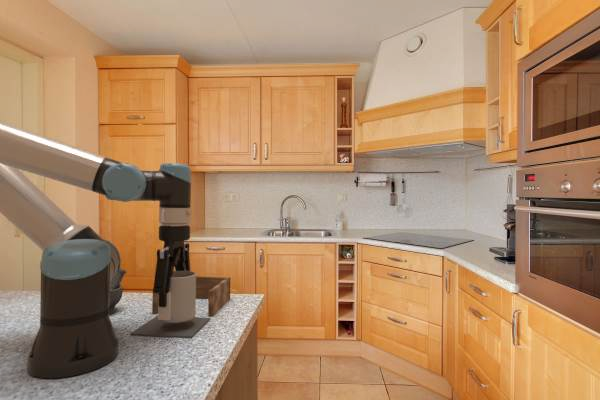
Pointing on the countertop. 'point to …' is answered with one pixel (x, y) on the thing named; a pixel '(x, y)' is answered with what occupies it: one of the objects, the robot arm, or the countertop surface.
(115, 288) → the mortar and pestle
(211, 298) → the open-sided wooden frame
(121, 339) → the countertop surface
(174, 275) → the mug
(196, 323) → the mat
